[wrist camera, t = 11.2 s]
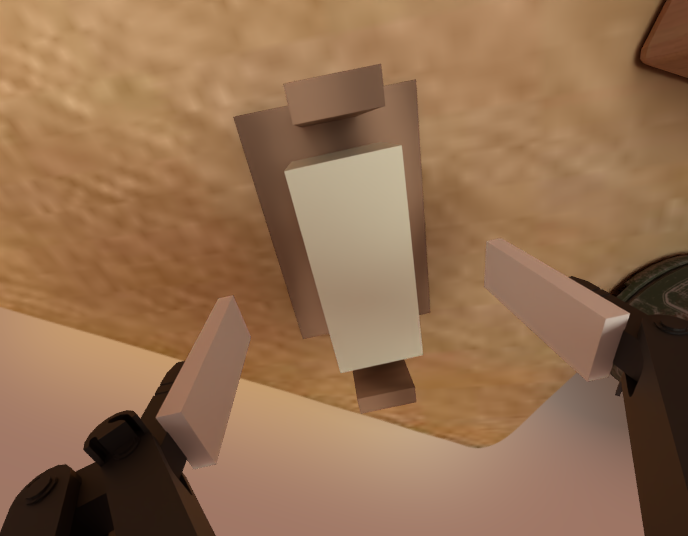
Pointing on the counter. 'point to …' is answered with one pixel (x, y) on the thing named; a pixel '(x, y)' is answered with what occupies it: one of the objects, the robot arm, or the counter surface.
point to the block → (669, 39)
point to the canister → (658, 292)
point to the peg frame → (322, 138)
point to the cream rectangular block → (360, 251)
